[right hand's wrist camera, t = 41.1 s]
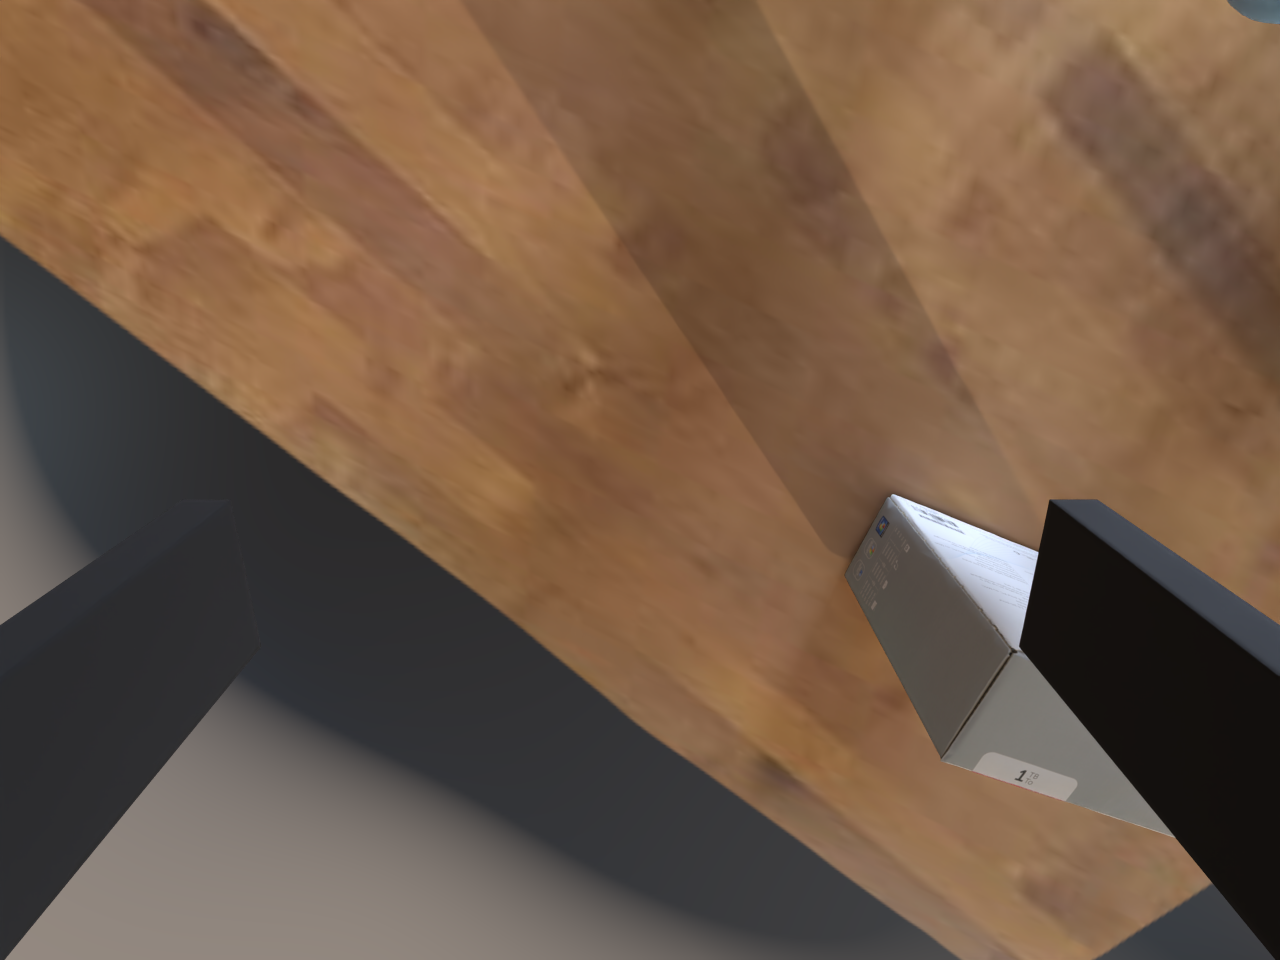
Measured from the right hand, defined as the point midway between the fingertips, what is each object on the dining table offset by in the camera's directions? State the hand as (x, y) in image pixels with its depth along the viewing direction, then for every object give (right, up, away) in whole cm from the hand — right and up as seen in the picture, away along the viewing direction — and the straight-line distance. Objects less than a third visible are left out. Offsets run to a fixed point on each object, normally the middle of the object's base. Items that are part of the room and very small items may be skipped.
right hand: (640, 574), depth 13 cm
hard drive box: (+24, -5, +46) cm, 52 cm away
